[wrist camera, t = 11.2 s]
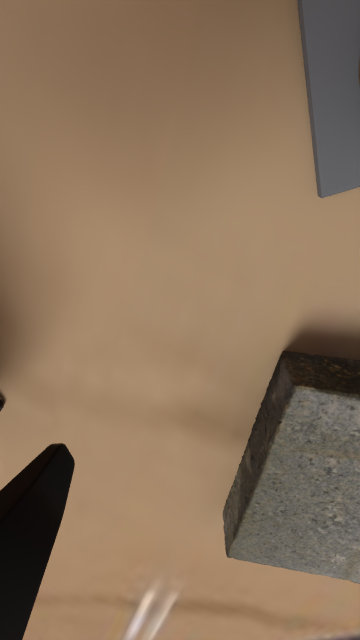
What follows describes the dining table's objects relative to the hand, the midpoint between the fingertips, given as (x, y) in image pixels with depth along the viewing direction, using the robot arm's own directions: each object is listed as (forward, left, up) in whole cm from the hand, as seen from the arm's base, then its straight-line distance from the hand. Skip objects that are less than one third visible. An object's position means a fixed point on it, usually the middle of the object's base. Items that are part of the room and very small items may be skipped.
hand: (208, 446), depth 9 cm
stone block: (+6, -18, -12) cm, 22 cm away
